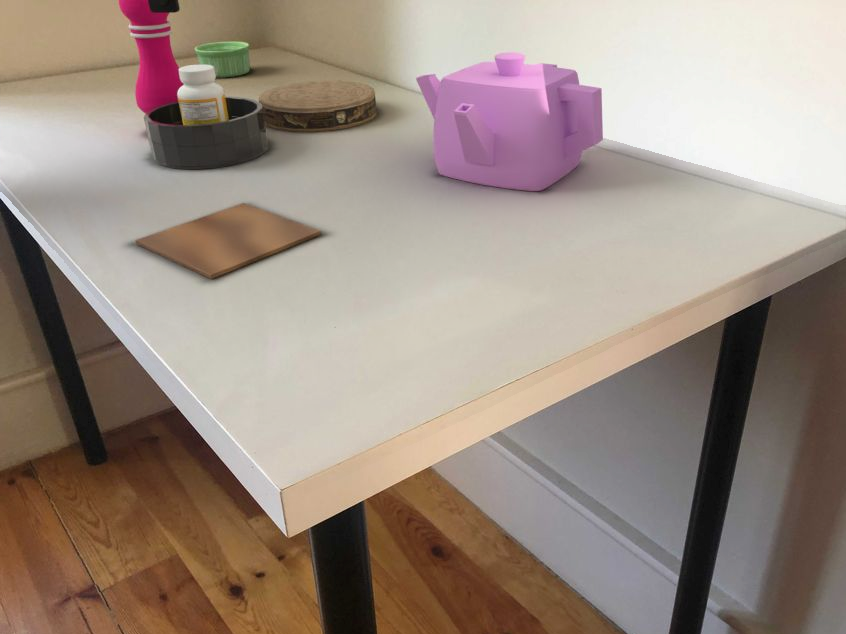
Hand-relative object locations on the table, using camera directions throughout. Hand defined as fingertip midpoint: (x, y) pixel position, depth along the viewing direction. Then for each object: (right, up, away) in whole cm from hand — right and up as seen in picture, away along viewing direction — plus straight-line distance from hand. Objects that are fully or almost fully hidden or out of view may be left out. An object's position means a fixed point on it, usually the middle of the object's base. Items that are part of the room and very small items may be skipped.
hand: (187, 5), depth 89 cm
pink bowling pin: (-8, -10, +17) cm, 21 cm away
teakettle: (+36, -19, 0) cm, 40 cm away
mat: (+9, -28, -15) cm, 34 cm away
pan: (0, -14, +9) cm, 17 cm away
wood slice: (+11, -6, +22) cm, 25 cm away
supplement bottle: (0, -14, +8) cm, 17 cm away
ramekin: (-10, +9, +48) cm, 49 cm away
